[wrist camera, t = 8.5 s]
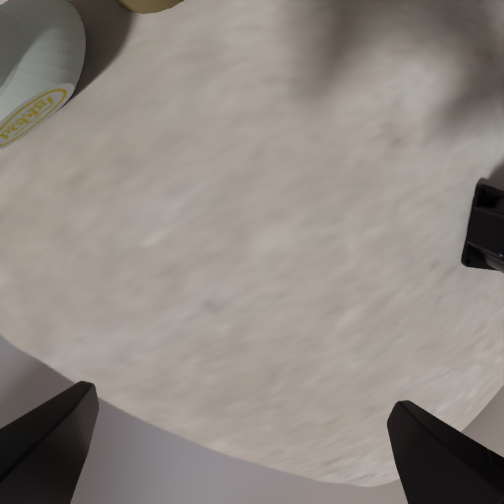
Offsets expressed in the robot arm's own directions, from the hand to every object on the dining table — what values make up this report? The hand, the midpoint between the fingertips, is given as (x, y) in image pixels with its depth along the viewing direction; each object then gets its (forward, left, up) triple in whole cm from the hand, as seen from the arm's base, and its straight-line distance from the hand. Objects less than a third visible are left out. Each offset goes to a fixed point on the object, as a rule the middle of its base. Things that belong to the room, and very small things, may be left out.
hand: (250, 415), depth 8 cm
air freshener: (+16, -12, -13) cm, 24 cm away
